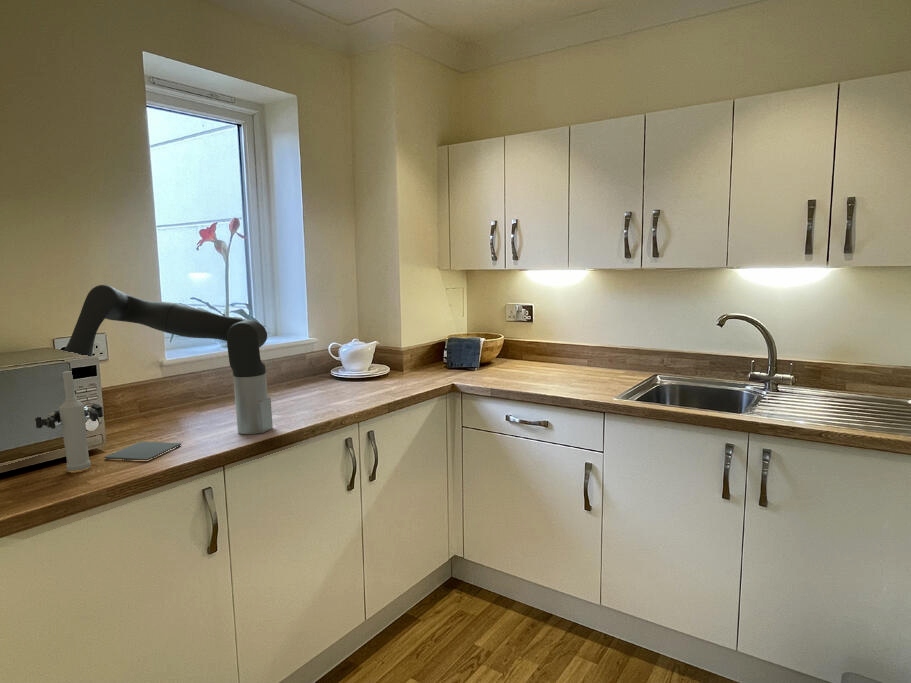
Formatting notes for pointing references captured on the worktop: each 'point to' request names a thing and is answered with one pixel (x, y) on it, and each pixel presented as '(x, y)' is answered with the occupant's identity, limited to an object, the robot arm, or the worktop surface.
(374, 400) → the worktop surface
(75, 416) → the bottle
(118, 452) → the charcoal mat
